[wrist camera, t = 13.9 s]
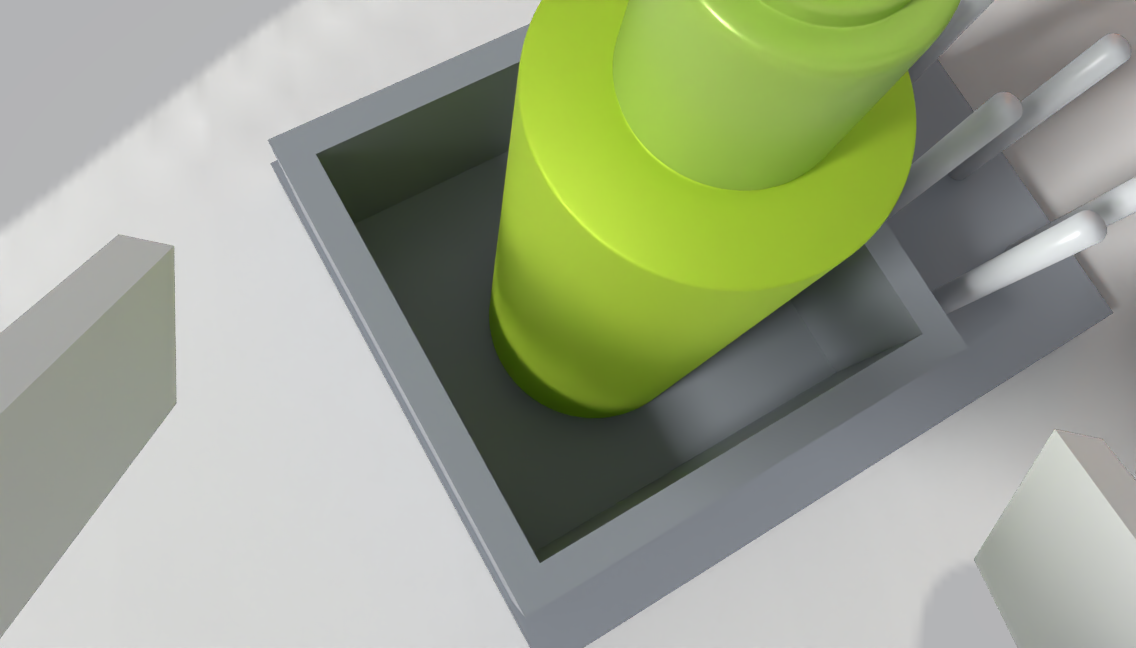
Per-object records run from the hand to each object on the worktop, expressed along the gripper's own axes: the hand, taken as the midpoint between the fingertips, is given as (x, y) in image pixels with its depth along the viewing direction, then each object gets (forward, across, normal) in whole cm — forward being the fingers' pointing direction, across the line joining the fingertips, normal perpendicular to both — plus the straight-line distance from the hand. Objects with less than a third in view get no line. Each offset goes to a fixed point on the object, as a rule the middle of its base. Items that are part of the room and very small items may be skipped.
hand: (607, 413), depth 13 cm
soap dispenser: (+12, 0, -4) cm, 12 cm away
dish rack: (+14, +4, -3) cm, 15 cm away
